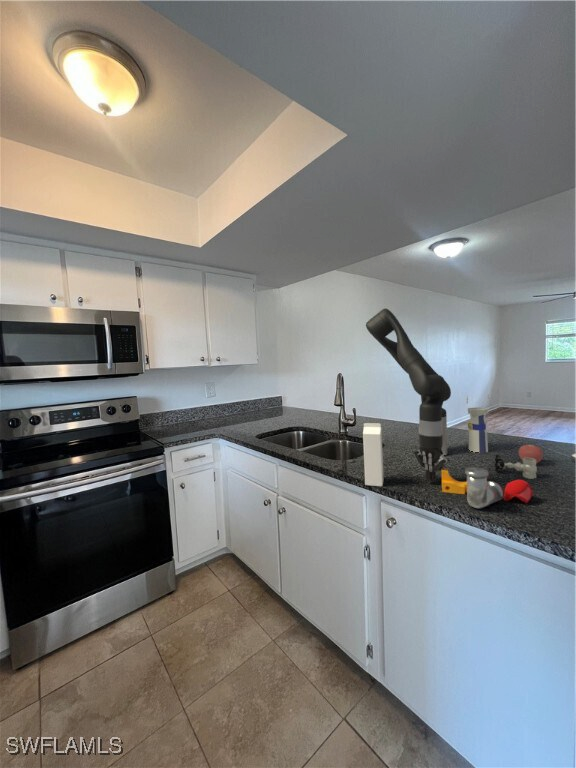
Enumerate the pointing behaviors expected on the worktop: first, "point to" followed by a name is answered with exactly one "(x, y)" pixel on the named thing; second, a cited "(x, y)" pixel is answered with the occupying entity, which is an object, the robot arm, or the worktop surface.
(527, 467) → the valve
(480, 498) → the duct elbow
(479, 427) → the water bottle
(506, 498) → the cap
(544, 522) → the worktop surface
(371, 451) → the milk
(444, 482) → the pipe clamp
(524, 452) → the apple
